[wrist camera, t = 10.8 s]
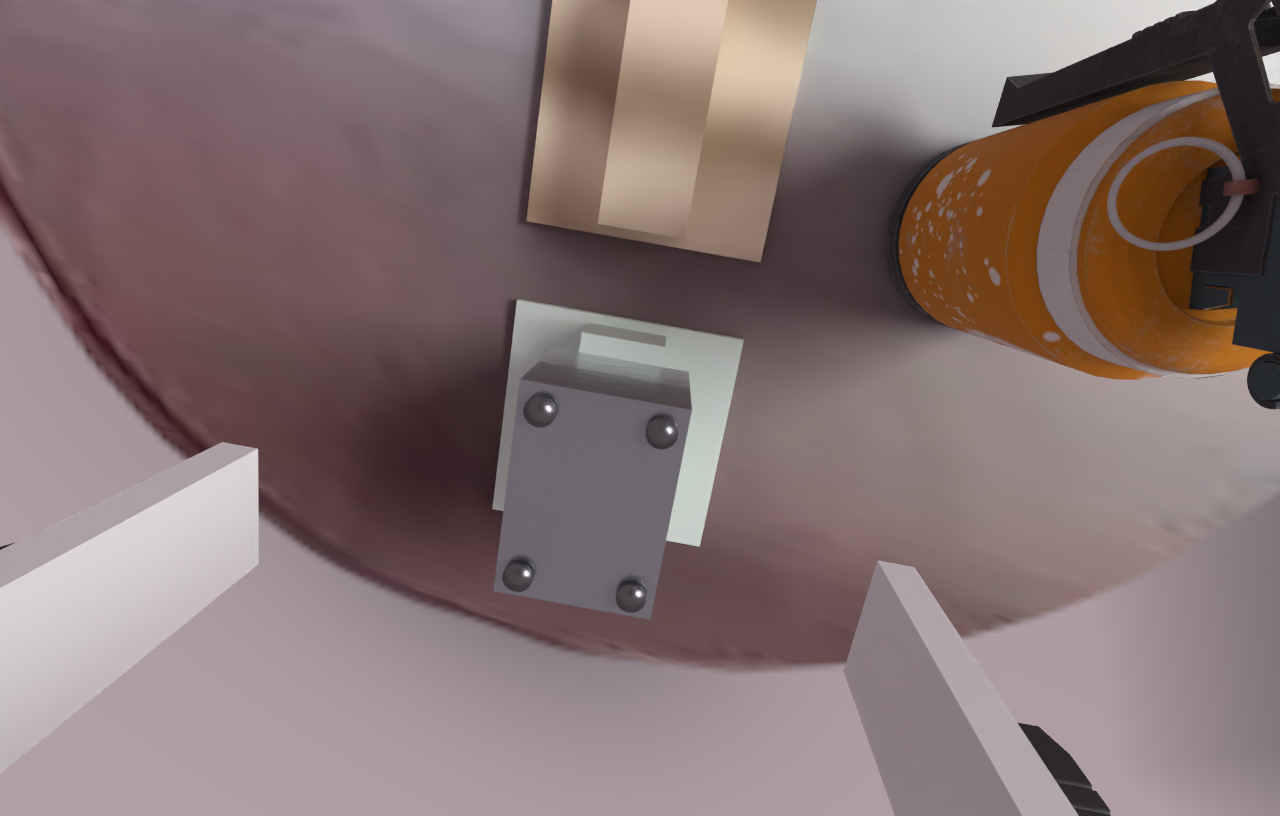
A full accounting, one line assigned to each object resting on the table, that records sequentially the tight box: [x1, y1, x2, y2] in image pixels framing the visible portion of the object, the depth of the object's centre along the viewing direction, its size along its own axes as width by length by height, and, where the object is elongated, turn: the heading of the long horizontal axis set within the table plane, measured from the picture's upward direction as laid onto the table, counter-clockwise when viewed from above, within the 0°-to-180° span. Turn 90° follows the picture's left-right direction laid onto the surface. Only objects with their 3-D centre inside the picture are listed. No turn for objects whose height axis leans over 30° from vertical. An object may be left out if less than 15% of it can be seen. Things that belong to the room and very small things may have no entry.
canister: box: [887, 0, 1280, 409], centre depth 22 cm, size 9×11×20 cm
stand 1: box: [526, 0, 817, 263], centre depth 30 cm, size 12×12×4 cm
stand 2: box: [492, 299, 744, 547], centre depth 34 cm, size 12×12×4 cm
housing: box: [494, 348, 692, 620], centre depth 28 cm, size 9×6×7 cm
